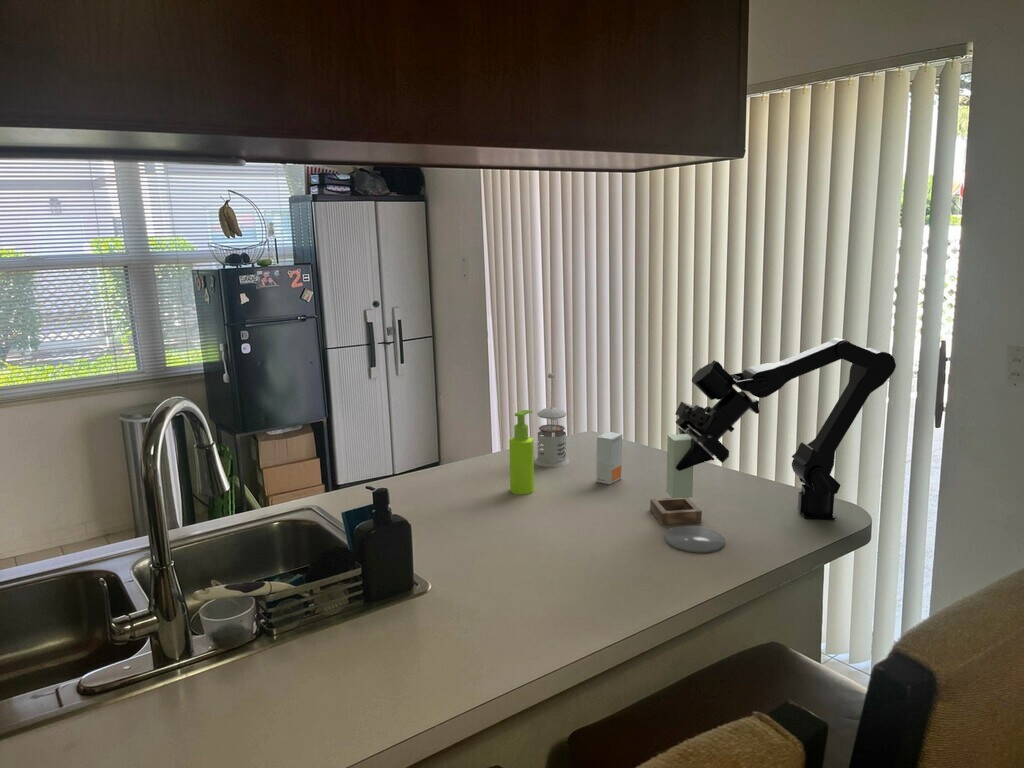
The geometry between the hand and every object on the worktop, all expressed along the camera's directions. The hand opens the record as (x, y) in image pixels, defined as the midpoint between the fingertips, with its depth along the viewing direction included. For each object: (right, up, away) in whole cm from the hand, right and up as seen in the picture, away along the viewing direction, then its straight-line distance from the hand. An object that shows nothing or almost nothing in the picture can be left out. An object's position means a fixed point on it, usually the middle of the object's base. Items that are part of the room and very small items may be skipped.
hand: (673, 465), depth 157 cm
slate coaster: (+2, -14, -8) cm, 17 cm away
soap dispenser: (-32, -9, +23) cm, 40 cm away
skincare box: (-10, -7, +28) cm, 31 cm away
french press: (-24, -4, +45) cm, 51 cm away
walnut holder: (+1, -12, +5) cm, 13 cm away
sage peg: (+2, -6, +2) cm, 7 cm away
